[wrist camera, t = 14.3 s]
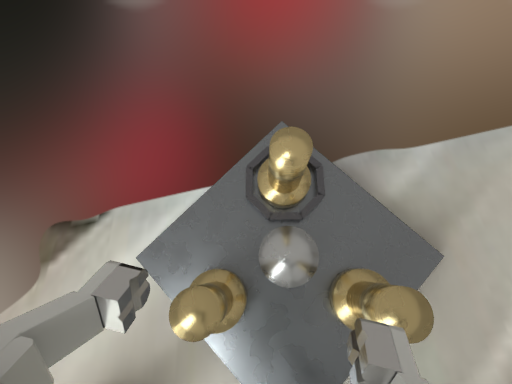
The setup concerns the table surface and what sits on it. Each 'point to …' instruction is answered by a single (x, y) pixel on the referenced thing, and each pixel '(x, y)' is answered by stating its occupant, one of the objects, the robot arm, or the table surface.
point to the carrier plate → (279, 310)
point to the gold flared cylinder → (286, 168)
